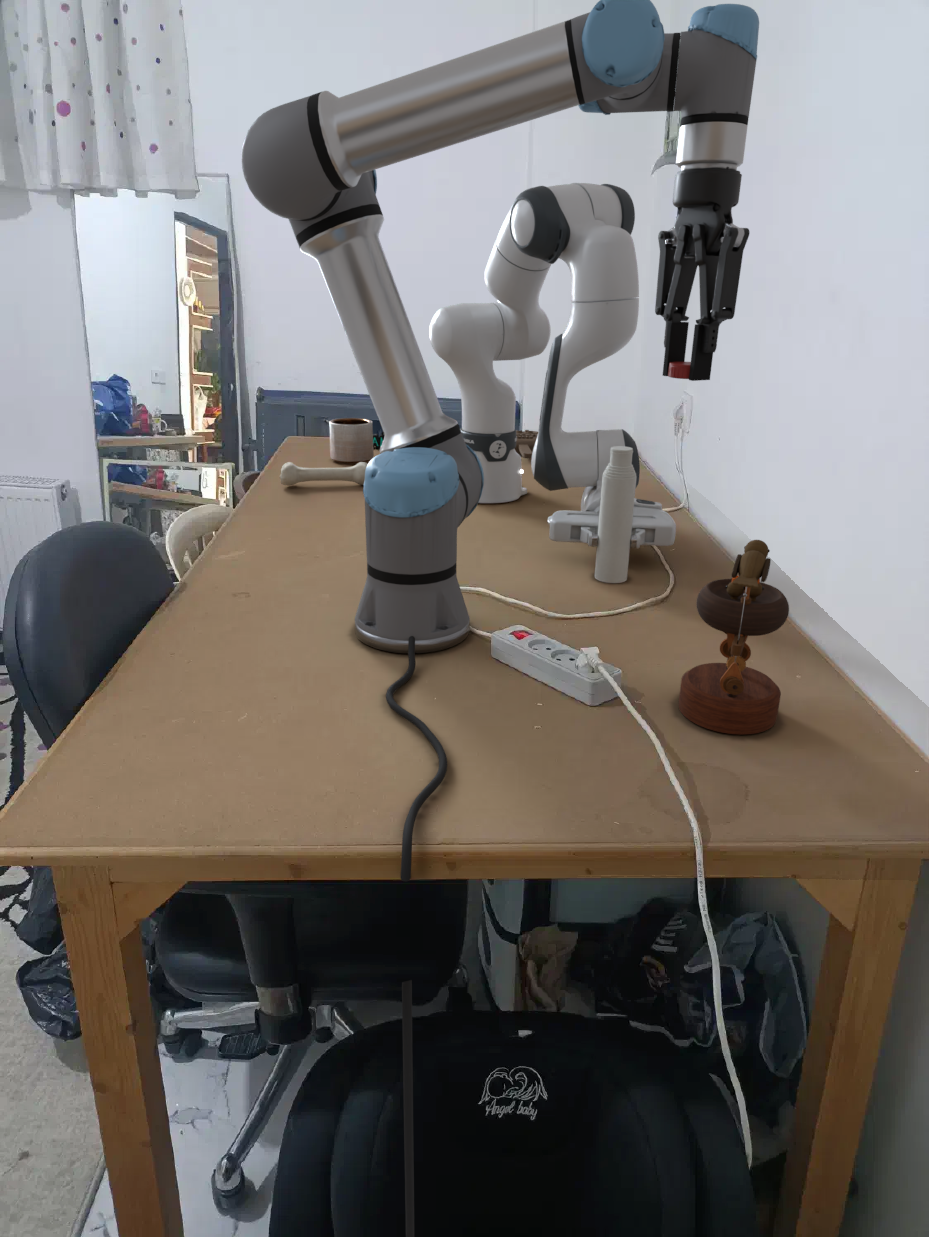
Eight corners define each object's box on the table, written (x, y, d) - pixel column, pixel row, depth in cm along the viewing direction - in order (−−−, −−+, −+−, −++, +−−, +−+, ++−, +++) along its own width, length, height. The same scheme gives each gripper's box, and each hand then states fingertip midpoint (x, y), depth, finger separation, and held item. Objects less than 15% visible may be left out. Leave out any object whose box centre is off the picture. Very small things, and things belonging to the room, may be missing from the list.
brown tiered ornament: (796, 745, 87) (812, 560, 79) (686, 746, 88) (692, 564, 81) (764, 679, 101) (775, 516, 93) (670, 680, 102) (673, 520, 95)
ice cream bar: (486, 463, 212) (487, 446, 210) (479, 442, 238) (480, 427, 236) (569, 464, 213) (571, 447, 211) (554, 443, 239) (554, 428, 237)
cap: (668, 378, 105) (670, 364, 104) (666, 374, 109) (668, 361, 109) (706, 379, 104) (708, 365, 104) (702, 375, 108) (704, 362, 108)
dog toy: (371, 480, 193) (370, 458, 191) (372, 486, 188) (372, 464, 186) (281, 482, 190) (279, 460, 188) (280, 488, 184) (278, 466, 182)
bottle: (602, 570, 138) (612, 443, 130) (631, 576, 135) (644, 447, 127) (589, 579, 134) (599, 448, 126) (619, 585, 131) (631, 453, 123)
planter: (327, 456, 217) (325, 418, 214) (369, 454, 220) (368, 417, 217) (334, 465, 208) (332, 425, 204) (377, 463, 211) (376, 424, 207)
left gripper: (789, 164, 92) (758, 384, 101) (684, 178, 107) (665, 369, 115) (737, 159, 89) (709, 387, 98) (636, 174, 104) (620, 371, 112)
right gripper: (548, 498, 144) (548, 520, 131) (670, 503, 142) (682, 525, 129) (546, 534, 146) (546, 558, 133) (666, 539, 144) (678, 564, 132)
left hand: (685, 377), depth 107 cm, fingers closed on cap, 4 cm apart
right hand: (614, 542), depth 131 cm, fingers closed on bottle, 5 cm apart
